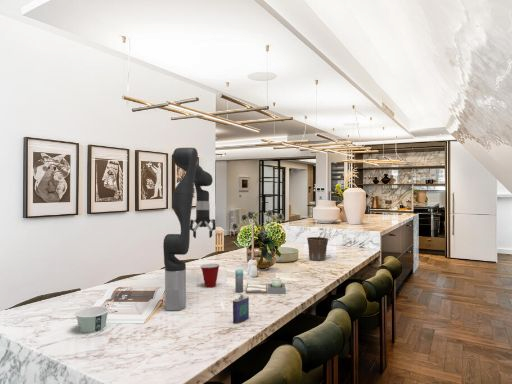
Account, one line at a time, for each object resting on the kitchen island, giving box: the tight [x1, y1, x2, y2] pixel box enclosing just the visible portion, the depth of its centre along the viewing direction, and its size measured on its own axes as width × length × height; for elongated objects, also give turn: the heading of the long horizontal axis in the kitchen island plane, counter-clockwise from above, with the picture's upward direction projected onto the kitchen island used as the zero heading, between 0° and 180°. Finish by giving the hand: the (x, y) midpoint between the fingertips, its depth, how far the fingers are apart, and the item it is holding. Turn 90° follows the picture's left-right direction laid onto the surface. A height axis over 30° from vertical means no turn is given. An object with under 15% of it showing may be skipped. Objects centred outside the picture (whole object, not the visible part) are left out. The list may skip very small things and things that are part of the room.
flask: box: [232, 293, 250, 325], centre depth 148 cm, size 9×3×11 cm, turn 144°
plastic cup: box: [199, 263, 221, 289], centre depth 200 cm, size 11×11×12 cm
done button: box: [271, 279, 282, 287], centre depth 189 cm, size 5×5×4 cm
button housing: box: [267, 282, 287, 295], centre depth 189 cm, size 9×9×3 cm
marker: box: [234, 269, 244, 294], centre depth 189 cm, size 4×4×11 cm
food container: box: [74, 305, 110, 333], centre depth 140 cm, size 12×12×6 cm
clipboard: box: [245, 283, 268, 295], centre depth 194 cm, size 16×11×1 cm
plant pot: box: [306, 236, 329, 262], centre depth 275 cm, size 16×16×16 cm
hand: (202, 237), depth 204 cm, fingers open, 8 cm apart
